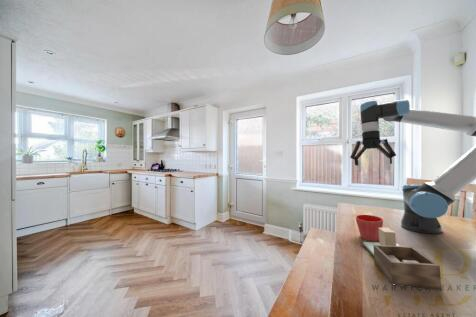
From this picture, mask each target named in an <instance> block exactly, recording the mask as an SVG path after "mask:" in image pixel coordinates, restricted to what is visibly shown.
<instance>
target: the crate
mask: <svg viewBox="0 0 476 317" xmlns="http://www.w3.org/2000/svg"><path fill="white" fill-rule="evenodd" d="M373 247H374V255H373V258H374V264H375V266H376V267H377V268H378V270H380V272H381V273H382V274H383V275H384V276H385V278H386V279H387V278H388V279H389V280H388V279H387V280H388V281H389V282H390V283H391V284H395V285H403V286H402V287H406V286H412V287H411V288H416V287H418V289H428V290H441V291H442V282H441V281H442V280H441V279H442V278H441V266H440V264H438V263H437V262H435V261H434V260H432V259H430V258H429V257H428V256H427V255H425V254H424V253H422V252H421V251H419V250H418V249H416V248H415V247H413V246H407V245H405V246H404V245H403V246H402V245H400V246H388V245H373ZM395 285H394V286H395Z"/></svg>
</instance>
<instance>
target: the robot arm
mask: <svg viewBox="0 0 476 317" xmlns="http://www.w3.org/2000/svg"><path fill="white" fill-rule="evenodd" d="M359 109H360V111H359V112H360V124H361V135H362V136H361V137H362V138H361V139H362V141H360V140H357V141H356V142H355V146H354V148H353V150H352V153H351V154H350V156H349V157H350V159H352V160H354V162H353V163H354V166H356V172H361V171H362V170H361V159H359V158H360V157H361V156H362V155H363V154H364V153H365V151H366V150H367V149H368V150H369V149H370V150H371V149H373V150H374V149H376V150H379V152H381V153H382V154H383V155H384V156H385V159H384V160H385V170H386V171H391V170H392V169H391V165H392V164H393V158H394V157H396V156H397V154H396V152H395V151H394V148H392V146H391V145H390V143H389V141H388V138H383V139H381V137H380V136H381V134H380V122H379V120H380V119H382V120H384V121H386V122H396V123H404V124H410V125H417V126H423V127H428V128H434V129H435V128H436V129H441V130H448V131H454V132H460V133H465V134H466V135H467V136H470V137H471V136H472V137H476V115H475V116H473V115H464V114H457V113H455V114H454V113H449V112H448V113H447V112H441V111H434V110H433V111H430V110H423V109H415V108H411V104H410V100H408V99H407V98H406V99H405V98H404V99H398V100H393V101H388V102H383V103H378V101H377V100H367V101H365V102H363V103H361V104H360V106H359ZM381 143H382V145H383V146H384V147H383V146H382V145H381ZM360 146H362V147H361V149H360ZM359 149H360V150H359ZM475 180H476V144H475V145H473V147H471V148H470V149H469V150H468V151H467V152H466V153H464V154H463V155H461V157H460V158H458V159H457V160H456V161H454V162H453V163H452V164H451V165H450V166H449V167H448V168H446V169H445V170H444V171H443V172H442V173H441V174H439V175H438V176H437V177H436V178H435V179H433V180H432V181H426V182H425V181H424V183H422V184H403V186H402V195H403V209H404V211H403V212H404V213H403V215H402V218H401V220H400V224H401V225H400V226H401V227H402V228H403V229H406V230H409V231H412V232H416V233H420V234H421V233H422V234H431V235H433V234H434V235H435V234H441V233H442V225H441V223H440V221H439V219H438V218H440V217H442V216H444V215H445V214H446V213H447V212H448V210H449V206H451V205H452V204H453V203H454V202H455V201H456V195H457V194H458V193H459V192H461V191H463V190H464V189H465V188H466V187H467V186H469V185H470V184H471V183H473V181H475Z"/></svg>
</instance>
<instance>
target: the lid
mask: <svg viewBox="0 0 476 317" xmlns="http://www.w3.org/2000/svg"><path fill="white" fill-rule="evenodd" d="M378 230H379V240H378V241H379V242H377V241H362V245H363V246H364V247H366V249H367V250H368V251H369V252H370V253H371V254H372V256H374V247H373V245H388V246H401V244H399V243H397V242H396V241H397V237H396V232H395V231H394V230H392V229H390V228H389V227H382V228H378Z"/></svg>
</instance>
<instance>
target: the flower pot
mask: <svg viewBox="0 0 476 317" xmlns="http://www.w3.org/2000/svg"><path fill="white" fill-rule="evenodd" d="M355 220H356V225H357V227H358V232H359V234H360V237H361V238H362V239H363V238H364V240H366V241H370V240H371V241H370V242H377V241H379V230H378V228H383V227H384V226H383V225H384V224H383V223H384V219H383V218H382V217H380V216H377V215H373V214H372V215H371V214H357V215H356V216H355Z"/></svg>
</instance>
